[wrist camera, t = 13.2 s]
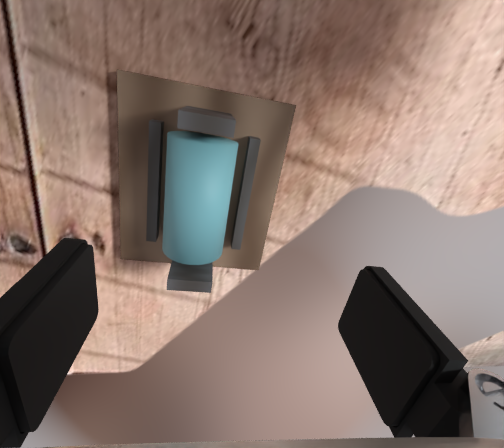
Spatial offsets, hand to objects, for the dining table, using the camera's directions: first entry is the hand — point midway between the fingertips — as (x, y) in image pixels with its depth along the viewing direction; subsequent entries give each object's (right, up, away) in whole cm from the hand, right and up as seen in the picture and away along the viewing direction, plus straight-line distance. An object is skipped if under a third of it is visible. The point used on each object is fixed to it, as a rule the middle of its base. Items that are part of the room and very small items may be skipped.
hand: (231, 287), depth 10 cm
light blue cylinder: (-5, +6, +19) cm, 20 cm away
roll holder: (-5, +6, +20) cm, 21 cm away
